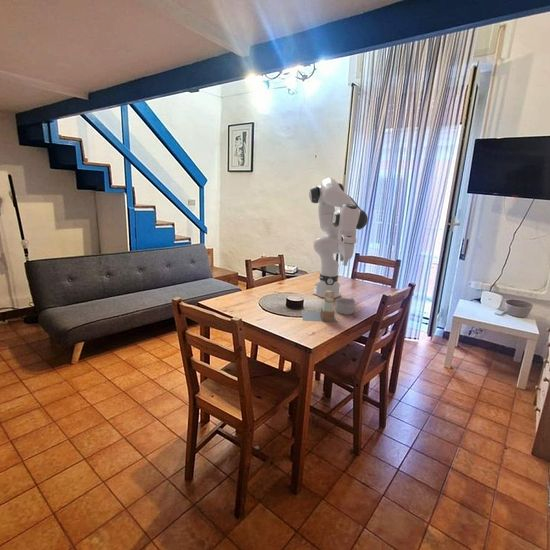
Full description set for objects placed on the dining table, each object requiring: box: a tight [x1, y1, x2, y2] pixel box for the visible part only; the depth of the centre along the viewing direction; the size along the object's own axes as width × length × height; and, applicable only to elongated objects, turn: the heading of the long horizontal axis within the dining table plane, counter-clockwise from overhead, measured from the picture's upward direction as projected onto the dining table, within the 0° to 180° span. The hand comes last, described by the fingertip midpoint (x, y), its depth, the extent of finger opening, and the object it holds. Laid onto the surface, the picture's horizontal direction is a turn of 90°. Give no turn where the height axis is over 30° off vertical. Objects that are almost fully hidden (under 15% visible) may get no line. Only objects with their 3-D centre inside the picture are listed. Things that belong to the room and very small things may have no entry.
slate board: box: [300, 310, 338, 323], centre depth 177 cm, size 14×18×1 cm
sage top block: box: [321, 298, 335, 312], centre depth 172 cm, size 5×5×5 cm
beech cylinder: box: [324, 291, 334, 302], centre depth 171 cm, size 4×4×5 cm
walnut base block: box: [320, 307, 335, 321], centre depth 173 cm, size 6×6×5 cm
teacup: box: [335, 297, 356, 316], centre depth 186 cm, size 14×11×8 cm
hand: (343, 263), depth 171 cm, fingers open, 8 cm apart
